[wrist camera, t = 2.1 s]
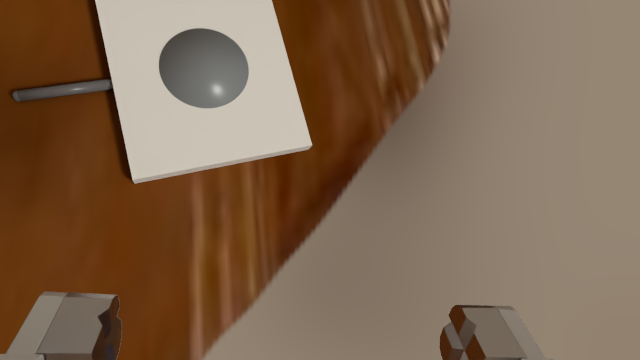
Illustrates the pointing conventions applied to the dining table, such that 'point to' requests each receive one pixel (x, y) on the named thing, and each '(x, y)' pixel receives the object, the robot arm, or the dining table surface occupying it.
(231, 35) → the charging pad
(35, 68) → the dining table surface
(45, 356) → the robot arm
